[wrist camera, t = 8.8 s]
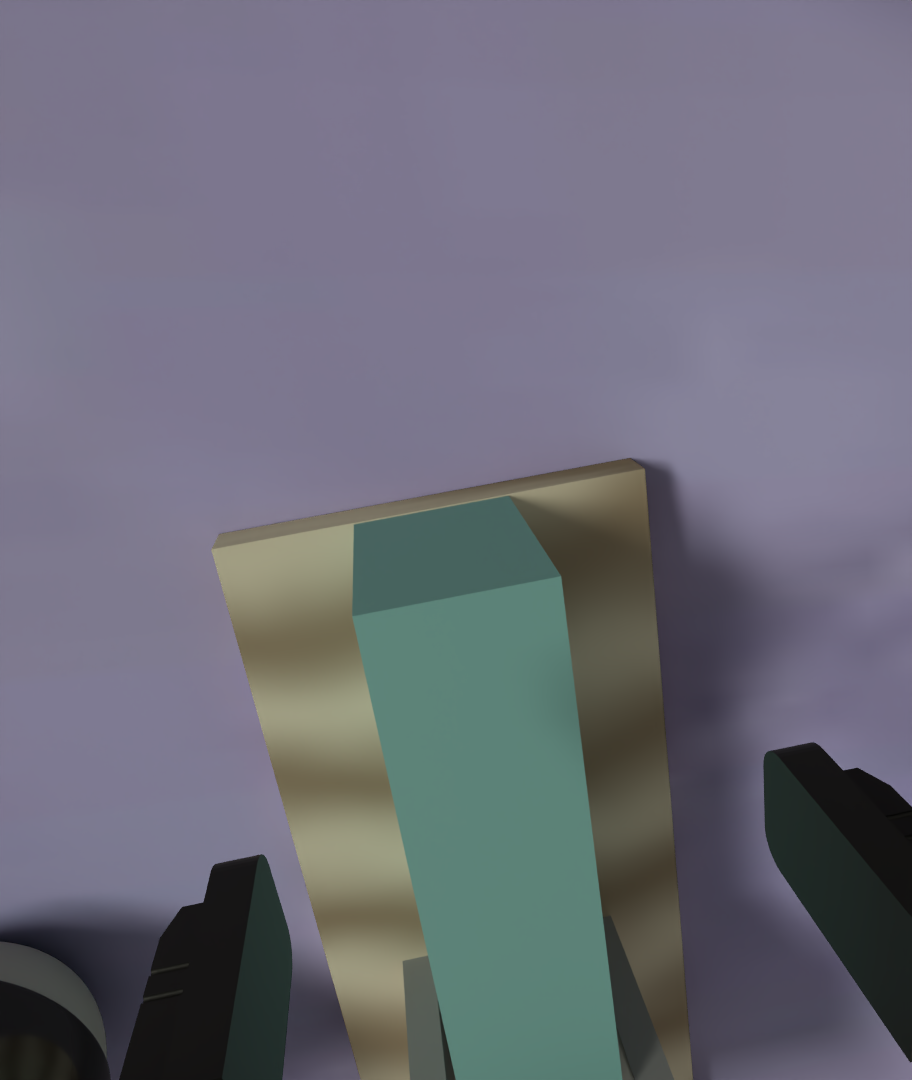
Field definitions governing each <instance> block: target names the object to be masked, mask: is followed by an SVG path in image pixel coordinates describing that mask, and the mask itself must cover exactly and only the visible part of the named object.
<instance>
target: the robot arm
mask: <svg viewBox="0 0 912 1080" xmlns="http://www.w3.org/2000/svg"><path fill="white" fill-rule="evenodd" d="M764 805H765V832H766V837H767V842H768V845H769V848H770V851H771V854H772V856H773V859H774V861H775V863H776V865H777V867H778V868H779V870H780V872H781V873H782V875H783V876H784V878H785V879H786V880H787V882H788V883H789V885H790V886H791V888H792V889H793V891H794V892H795V894H796V895H797V897H798V898H799V900H800V901H801V903H802V904H803V905H804V907H805V908H806V910H807V911H808V913H809V914H810V916H811V917H812V919H813V920H814V922H815V923H816V925H817V926H818V928H819V929H820V930H821V932H822V933H823V935H824V936H825V938H826V939H827V941H828V942H829V944H830V945H831V947H832V948H833V950H834V951H835V953H836V954H837V955H838V957H839V958H840V960H841V961H842V963H843V964H844V966H845V967H846V969H847V970H848V972H849V973H850V975H851V976H852V978H853V979H854V980H855V982H856V983H857V985H858V986H859V988H860V989H861V991H862V992H863V994H864V995H865V997H866V998H867V1000H868V1001H869V1002H870V1004H871V1005H872V1007H873V1008H874V1010H875V1011H876V1013H877V1014H878V1016H879V1017H880V1019H881V1020H882V1022H883V1023H884V1025H885V1026H886V1027H887V1029H888V1030H889V1032H890V1033H891V1035H892V1036H893V1038H894V1039H895V1041H896V1042H897V1044H898V1045H899V1047H900V1048H901V1050H902V1051H903V1052H904V1054H905V1055H906V1057H907V1058H908V1060H909V1061H910V1062H912V807H911V806H910V805H909V804H908V803H907V802H906V801H905V800H904V799H903V798H902V797H901V796H900V795H899V794H898V793H897V792H896V791H895V790H894V789H893V788H892V787H891V786H890V785H888V784H886V783H885V782H883V781H881V780H879V779H877V778H875V777H874V776H872V775H870V774H868V773H866V772H864V771H863V770H861V769H859V768H854V769H849V770H844V771H843V770H842V769H841V768H840V767H839V766H838V765H837V764H836V763H835V761H834V760H833V759H832V758H831V757H830V756H829V755H828V754H827V753H826V752H825V751H824V750H823V749H822V748H821V747H820V746H819V745H818V744H816V743H807V744H802V745H797V746H792V747H787V748H782V749H778V750H773V751H768V752H767V753H766V754H765V757H764ZM291 978H292V950H291V941H290V935H289V930H288V927H287V923H286V920H285V916H284V913H283V910H282V907H281V903H280V900H279V897H278V893H277V890H276V887H275V884H274V880H273V877H272V874H271V870H270V867H269V864H268V861H267V859H266V857H265V856H264V855H262V854H261V855H256V856H252V857H247V858H242V859H237V860H232V861H227V862H223V863H218V864H215V865H214V866H213V868H212V870H211V873H210V877H209V882H208V886H207V890H206V894H205V898H204V903H199V904H194V905H190V906H185V907H182V908H181V909H180V911H179V912H178V913H177V915H176V916H175V918H174V919H173V920H172V922H171V923H170V925H169V926H168V927H167V929H166V930H165V932H164V933H163V934H162V936H161V937H160V940H159V943H158V947H157V950H156V954H155V957H154V961H153V964H152V968H151V976H149V978H148V982H147V985H146V988H145V992H144V995H143V999H144V1002H143V1003H142V1004H141V1006H140V1009H139V1013H138V1016H137V1020H136V1023H135V1027H134V1030H133V1033H132V1037H131V1040H130V1044H129V1047H128V1051H127V1054H126V1058H125V1061H124V1065H123V1068H122V1072H121V1075H120V1079H119V1080H282V1075H283V1065H284V1054H285V1043H286V1032H287V1021H288V1010H289V999H290V988H291Z"/></svg>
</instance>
